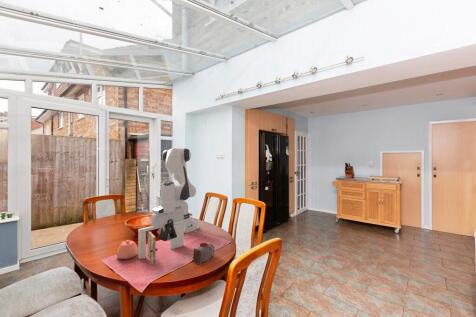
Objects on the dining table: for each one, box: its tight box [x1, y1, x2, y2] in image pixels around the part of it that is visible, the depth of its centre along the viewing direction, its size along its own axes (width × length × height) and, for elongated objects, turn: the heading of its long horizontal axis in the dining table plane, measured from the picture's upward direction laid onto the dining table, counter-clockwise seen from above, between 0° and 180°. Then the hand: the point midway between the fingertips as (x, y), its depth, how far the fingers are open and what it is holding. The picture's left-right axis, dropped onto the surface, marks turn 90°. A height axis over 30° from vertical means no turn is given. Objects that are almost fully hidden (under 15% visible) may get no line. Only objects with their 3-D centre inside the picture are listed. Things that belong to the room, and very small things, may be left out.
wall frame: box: [137, 220, 185, 260], centre depth 145 cm, size 30×2×18 cm, turn 134°
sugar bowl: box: [116, 239, 138, 261], centre depth 138 cm, size 12×14×10 cm
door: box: [147, 230, 158, 266], centre depth 133 cm, size 14×4×16 cm, turn 34°
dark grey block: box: [192, 241, 216, 265], centre depth 135 cm, size 14×8×10 cm, turn 150°
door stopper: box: [158, 219, 177, 242], centre depth 135 cm, size 9×6×12 cm, turn 141°
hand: (167, 230), depth 135 cm, fingers closed on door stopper, 3 cm apart
